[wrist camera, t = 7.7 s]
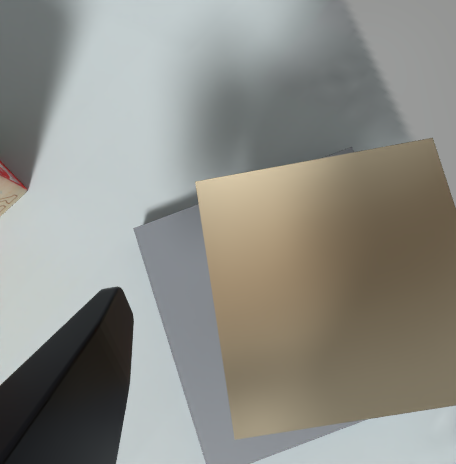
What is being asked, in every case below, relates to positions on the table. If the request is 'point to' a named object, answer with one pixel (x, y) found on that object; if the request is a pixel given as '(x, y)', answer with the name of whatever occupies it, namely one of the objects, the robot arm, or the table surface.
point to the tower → (334, 288)
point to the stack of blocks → (9, 189)
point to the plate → (203, 338)
